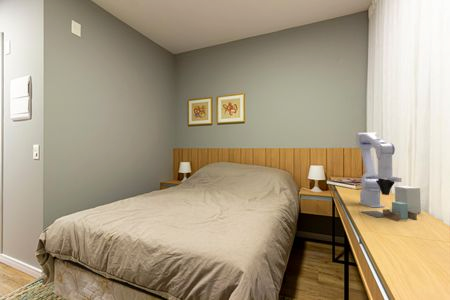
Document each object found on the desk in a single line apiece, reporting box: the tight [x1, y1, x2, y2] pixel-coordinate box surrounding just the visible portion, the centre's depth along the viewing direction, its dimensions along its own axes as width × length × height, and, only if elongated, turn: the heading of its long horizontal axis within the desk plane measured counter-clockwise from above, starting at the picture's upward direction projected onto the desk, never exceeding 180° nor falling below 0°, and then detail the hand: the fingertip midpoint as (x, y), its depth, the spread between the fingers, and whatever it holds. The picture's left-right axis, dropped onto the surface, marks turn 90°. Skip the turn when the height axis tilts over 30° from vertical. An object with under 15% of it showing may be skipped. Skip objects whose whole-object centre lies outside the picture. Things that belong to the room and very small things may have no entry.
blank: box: [391, 201, 409, 220], centre depth 96 cm, size 4×4×7 cm
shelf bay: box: [382, 208, 418, 222], centre depth 96 cm, size 8×10×3 cm
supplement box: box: [394, 185, 422, 214], centre depth 107 cm, size 7×7×13 cm
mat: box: [360, 210, 388, 219], centre depth 101 cm, size 9×9×1 cm
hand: (385, 194), depth 103 cm, fingers closed
